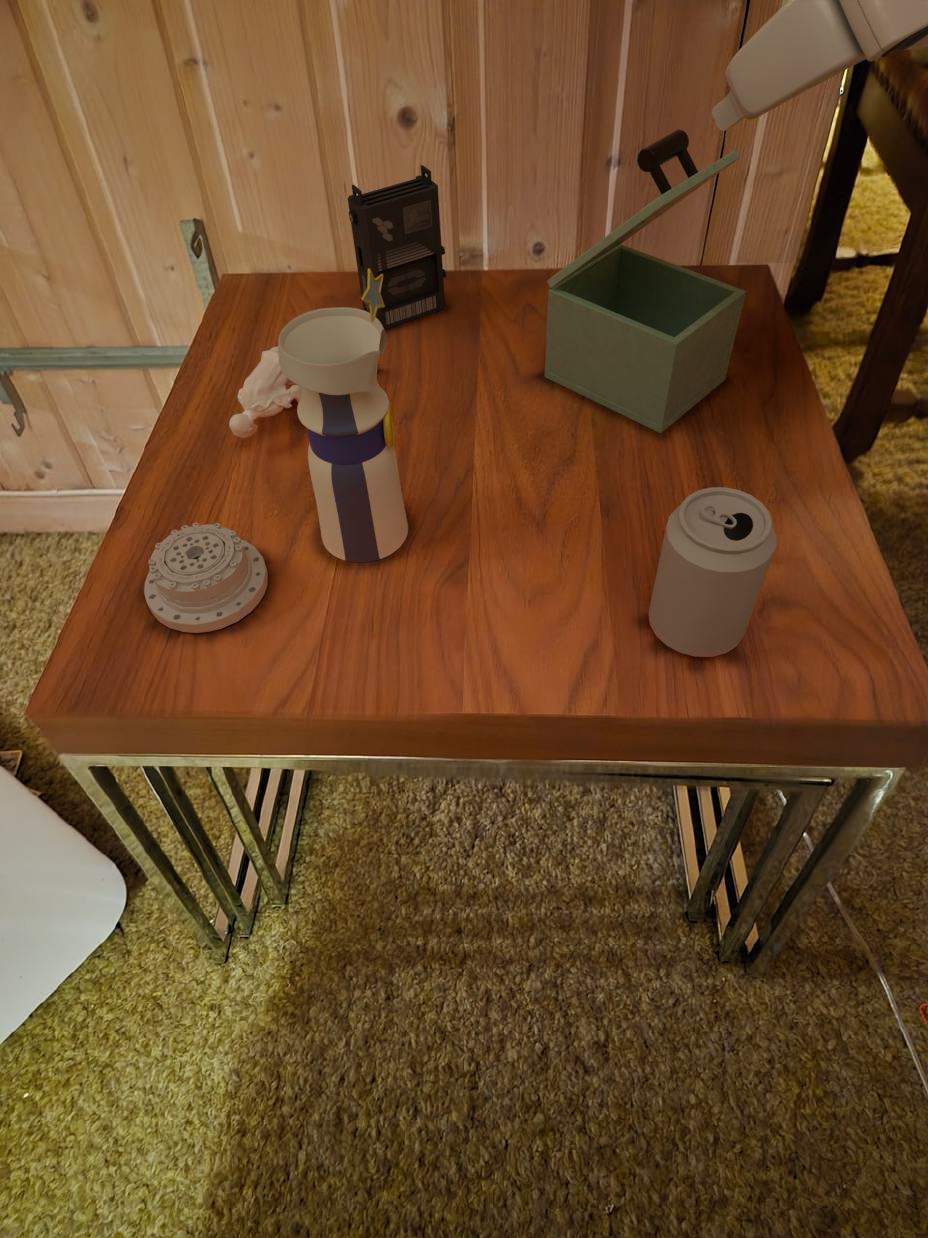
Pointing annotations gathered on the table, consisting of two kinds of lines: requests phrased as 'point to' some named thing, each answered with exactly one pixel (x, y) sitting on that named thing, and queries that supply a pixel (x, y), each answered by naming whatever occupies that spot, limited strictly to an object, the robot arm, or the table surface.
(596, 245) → the box lid
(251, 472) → the table surface
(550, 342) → the green box
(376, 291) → the water bottle
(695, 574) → the can
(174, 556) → the mechanical component
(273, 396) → the figurine
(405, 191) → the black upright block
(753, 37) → the robot arm
